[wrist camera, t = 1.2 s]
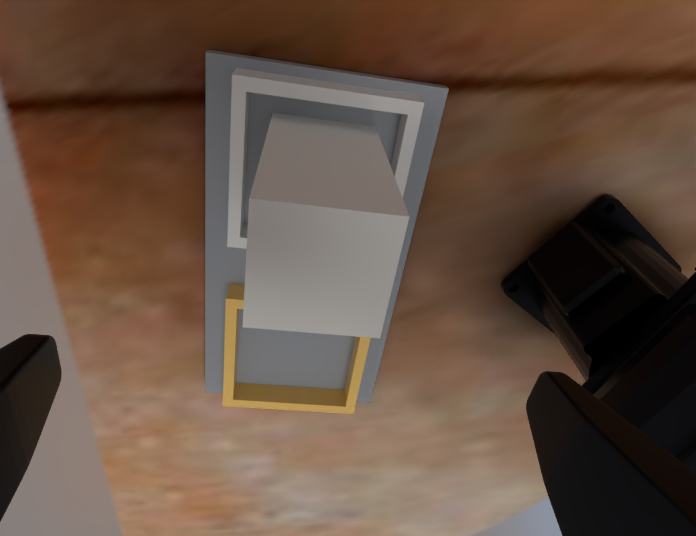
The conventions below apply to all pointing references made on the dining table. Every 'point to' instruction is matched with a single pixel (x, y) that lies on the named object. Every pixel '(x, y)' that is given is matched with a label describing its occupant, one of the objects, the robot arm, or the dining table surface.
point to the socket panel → (232, 222)
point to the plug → (322, 230)
